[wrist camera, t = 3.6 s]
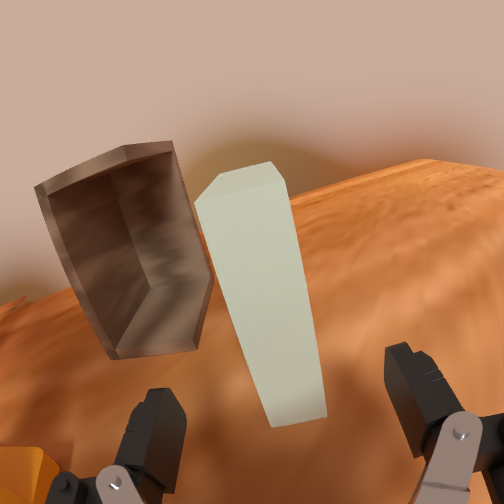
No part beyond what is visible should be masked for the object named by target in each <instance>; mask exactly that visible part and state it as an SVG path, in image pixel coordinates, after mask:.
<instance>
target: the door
mask: <svg viewBox="0 0 504 504" xmlns="http://www.w3.org/2000/svg"><path fill="white" fill-rule="evenodd" d="M194 204H195V207H196V210H197V214H198V217H199V220H200V223H201V227H202V230H203V233H204V236H205V240H206V243H207V246H208V249H209V252H210V255H211V259H212V262H213V265H214V268H215V271H216V274H217V277H218V280H219V283H220V286H221V289H222V292H223V295H224V298H225V301H226V304H227V307H228V310H229V313H230V316H231V319H232V322H233V325H234V328H235V331H236V333H237V336H238V339H239V342H240V345H241V348H242V350H243V353H244V356H245V359H246V362H247V364H248V367H249V370H250V373H251V375H252V378H253V381H254V384H255V386H256V389H257V392H258V394H259V397H260V400H261V402H262V405H263V408H264V410H265V413H266V415H267V418H268V421H269V423H270V426H271V428H274V427H280V426H286V425H291V424H297V423H302V422H307V421H312V420H317V419H321V418H326V417H328V416H327V409H326V401H325V394H324V387H323V380H322V374H321V367H320V361H319V355H318V348H317V342H316V336H315V330H314V324H313V319H312V313H311V307H310V302H309V296H308V291H307V285H306V280H305V275H304V270H303V265H302V260H301V255H300V250H299V245H298V240H297V235H296V230H295V225H294V221H293V216H292V211H291V207H290V202H289V198H288V193H287V189H286V184H285V180H284V179H283V178H282V176H281V175H280V173H279V172H278V171H277V169H276V168H275V166H274V165H273V164H272V162H271V161H270V162H266V163H261V164H257V165H253V166H249V167H245V168H241V169H237V170H233V171H229V172H225V173H221V174H219V175H218V176H217V177H216V178H215V180H214V181H213V182H212V183H211V184H210V185H209V186H208V187H207V189H206V190H205V191H204V192H203V193H202V194H201V196H200V197H199V198H198V199H197V200H196V201H195V202H194Z"/></svg>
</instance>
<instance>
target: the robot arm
mask: <svg viewBox="0 0 504 504" xmlns="http://www.w3.org/2000/svg"><path fill="white" fill-rule="evenodd" d="M384 382H385V387H386V390H387V392H388V395H389V397H390V399H391V402H392V404H393V407H394V409H395V411H396V414H397V416H398V419H399V421H400V423H401V426H402V428H403V431H404V433H405V436H406V438H407V441H408V444H409V446H410V449H411V451H412V454H413V457H414V459H415V458H417V457H420V456H422V455H423V456H424V459H425V461H426V464H425V466H424V469H423V471H422V474H421V476H420V479H419V481H418V483H417V486H416V488H415V490H414V493H413V495H412V497H411V499H410V501H409V503H408V504H467V503H468V499H469V495H470V490H469V489H468V487H469V482H470V479H471V476H472V473H474V472H479V471H481V472H482V475H483V478H484V480H485V483H486V486H487V489H488V492H489V495H490V498H491V501H492V504H504V413H501V414H496V415H491V416H486V417H478V416H476V415H475V414H473V413H471V412H467V411H465V410H464V409H463V407H462V406H461V404H460V402H459V401H458V399H457V397H456V396H455V394H454V392H453V391H452V389H451V387H450V386H449V384H448V382H447V381H446V379H445V378H444V377H443V374H442V373H441V371H440V370H439V369H438V367H437V365H436V364H435V362H434V360H433V359H432V358H431V357H430V356H428V355H427V354H425V353H424V352H422V351H419V352H416V353H413V352H412V350H411V348H410V347H409V345H408V344H407V343H406V342H402V343H399V344H395V345H392V346H389V347H386V348H385V362H384ZM128 423H129V424H127V427H126V430H125V431H126V433H124V436H123V439H122V441H121V444H120V447H119V450H118V453H117V456H116V459H115V462H114V464H113V465H111V466H108V467H106V468H104V469H103V470H101V472H100V473H99V474H98V476H97V477H91V478H83V479H79V478H78V477H76V476H75V475H74V474H73V473H71V472H62V473H60V474H58V475H57V476H56V477H55V478H54V479H53V481H52V483H51V486H50V489H49V492H48V495H47V498H46V501H45V504H165V502H164V501H163V500H162V498H163V493H168V494H174V492H175V486H176V480H177V475H178V469H179V464H180V458H181V453H182V448H183V442H184V437H185V432H186V427H187V419H186V414H185V412H184V410H183V408H182V407H181V405H180V404H179V402H178V400H177V399H176V397H175V396H174V394H173V392H172V391H171V389H170V388H156V389H149V390H148V392H147V395H146V398H145V401H144V402H140V403H139V404H138V405H137V406H136V408H135V409H134V410H133V411H132V413H131V416H130V419H129V422H128Z"/></svg>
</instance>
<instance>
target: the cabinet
mask: <svg viewBox="0 0 504 504" xmlns="http://www.w3.org/2000/svg"><path fill="white" fill-rule="evenodd" d="M34 189H35V191H36V195H37V198H38V202H39V205H40V208H41V211H42V214H43V217H44V220H45V222H46V225H47V228H48V231H49V233H50V236H51V239H52V241H53V244H54V246H55V249H56V251H57V254H58V256H59V259H60V261H61V263H62V266H63V268H64V270H65V272H66V275H67V277H68V279H69V282H70V284H71V286H72V288H73V290H74V292H75V294H76V296H77V299H78V301H79V303H80V305H81V307H82V309H83V311H84V312H85V314H86V316H87V318H88V320H89V322H90V324H91V326H92V328H93V329H94V331H95V333H96V335H97V337H98V338H99V340H100V342H101V344H102V345H103V347H104V349H105V351H106V352H107V354H108V356H109V357H110V359H111V360H114V359H125V358H135V357H145V356H154V355H162V354H170V353H177V352H185V351H192V350H197V348H198V344H199V340H200V335H201V331H202V327H203V323H204V319H205V315H206V311H207V307H208V303H209V299H210V295H211V291H212V287H213V283H214V277H213V274H212V271H211V268H210V265H209V262H208V259H207V256H206V253H205V249H204V246H203V243H202V240H201V237H200V234H199V231H198V227H197V224H196V221H195V218H194V214H193V211H192V208H191V205H190V201H189V198H188V195H187V192H186V188H185V185H184V181H183V178H182V174H181V171H180V167H179V164H178V160H177V157H176V153H175V150H174V146H173V142H172V141H160V142H149V143H140V144H131V145H123V146H120V147H118V148H115V149H113V150H110V151H108V152H106V153H103V154H101V155H99V156H96V157H94V158H92V159H90V160H87V161H85V162H83V163H81V164H79V165H77V166H74V167H72V168H70V169H69V170H66V171H64V172H62V173H60V174H58V175H56V176H54V177H52V178H50V179H48V180H46V181H45V182H43V183H41V184H39V185H37V186H35V187H34Z"/></svg>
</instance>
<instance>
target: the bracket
mask: <svg viewBox="0 0 504 504" xmlns="http://www.w3.org/2000/svg"><path fill="white" fill-rule="evenodd" d="M59 471H60V469H59V465H58V464H57V463H56V462H55V461H54V460H53V459H51V458H50V457H49V456H48V455H47V454H46V453H45V452H44V451H43V450H42V449H41V448H39V447H7V446H0V504H45V501H46V498H47V495H48V492H49V489H50V486H51V483H52V481H53V479H54V478H55V477H56V476H57V475H58V474H59Z"/></svg>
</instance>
